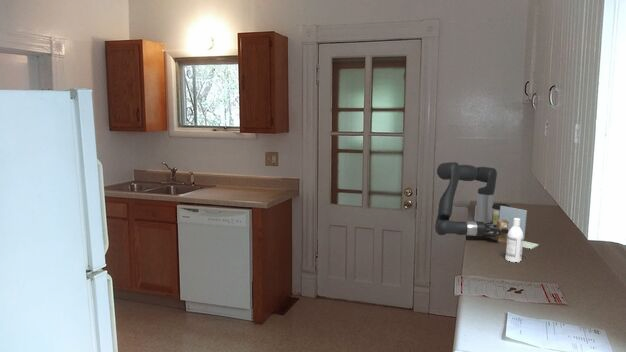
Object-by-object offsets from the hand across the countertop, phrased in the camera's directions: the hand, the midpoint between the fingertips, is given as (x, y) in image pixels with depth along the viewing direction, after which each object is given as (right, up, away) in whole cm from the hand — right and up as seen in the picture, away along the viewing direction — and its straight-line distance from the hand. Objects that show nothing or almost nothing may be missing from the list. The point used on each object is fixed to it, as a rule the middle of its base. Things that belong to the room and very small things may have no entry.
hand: (505, 229), depth 262 cm
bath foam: (-8, -12, -30) cm, 33 cm away
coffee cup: (+5, -3, +21) cm, 22 cm away
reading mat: (+9, -8, -5) cm, 13 cm away
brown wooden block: (-2, -6, +1) cm, 7 cm away
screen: (+7, -5, +9) cm, 13 cm away
